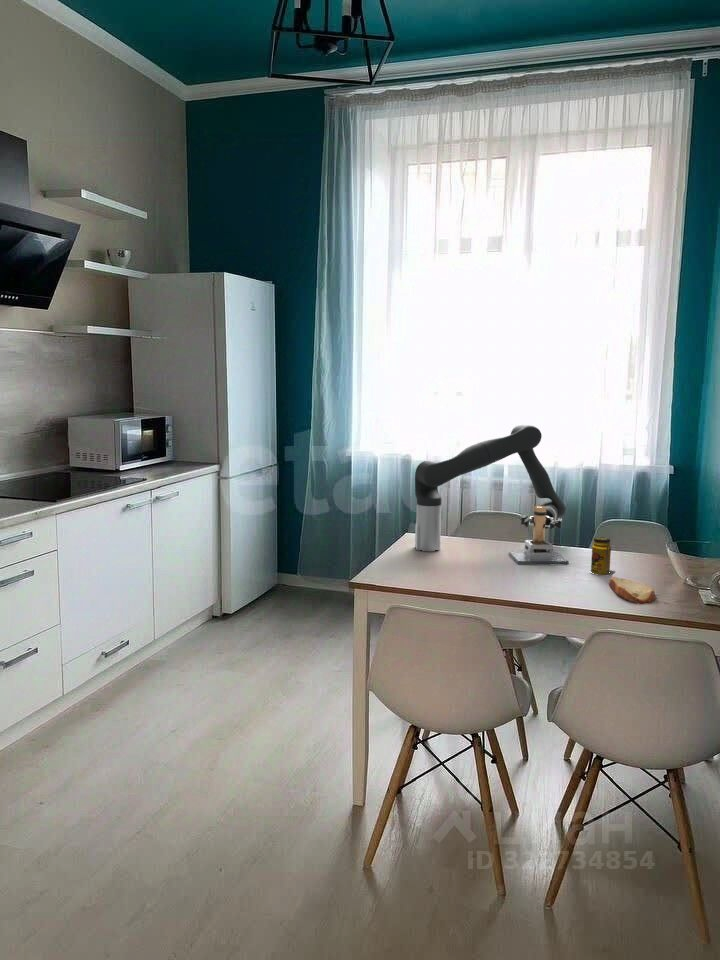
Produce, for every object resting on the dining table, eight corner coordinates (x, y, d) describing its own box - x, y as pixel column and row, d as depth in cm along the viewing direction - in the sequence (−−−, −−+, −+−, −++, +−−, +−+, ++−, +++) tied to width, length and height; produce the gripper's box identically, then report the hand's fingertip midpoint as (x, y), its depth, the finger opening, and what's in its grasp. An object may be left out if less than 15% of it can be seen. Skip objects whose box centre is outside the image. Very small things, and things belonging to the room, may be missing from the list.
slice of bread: (613, 582, 239) (614, 570, 239) (669, 594, 227) (670, 582, 226) (587, 593, 226) (588, 581, 226) (645, 607, 214) (646, 594, 214)
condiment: (586, 573, 248) (588, 538, 246) (594, 568, 255) (596, 534, 253) (608, 577, 244) (610, 541, 242) (615, 571, 251) (618, 537, 249)
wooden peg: (533, 557, 263) (535, 508, 260) (530, 554, 268) (532, 505, 265) (545, 557, 263) (548, 508, 261) (542, 554, 268) (544, 505, 265)
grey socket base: (517, 564, 258) (518, 547, 257) (508, 554, 272) (509, 538, 271) (568, 564, 259) (569, 547, 258) (556, 554, 273) (557, 538, 272)
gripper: (526, 505, 279) (519, 513, 264) (565, 508, 274) (559, 516, 259) (525, 525, 280) (518, 533, 265) (564, 528, 275) (558, 537, 260)
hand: (538, 525), depth 262 cm, fingers open, 8 cm apart
